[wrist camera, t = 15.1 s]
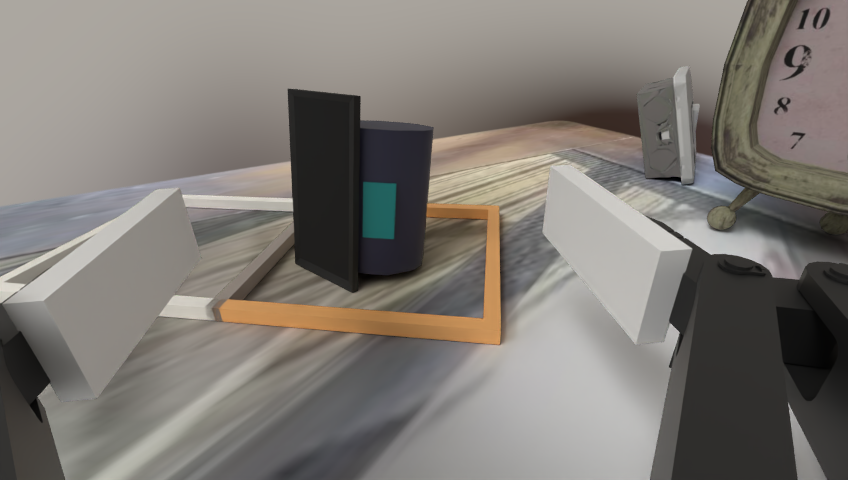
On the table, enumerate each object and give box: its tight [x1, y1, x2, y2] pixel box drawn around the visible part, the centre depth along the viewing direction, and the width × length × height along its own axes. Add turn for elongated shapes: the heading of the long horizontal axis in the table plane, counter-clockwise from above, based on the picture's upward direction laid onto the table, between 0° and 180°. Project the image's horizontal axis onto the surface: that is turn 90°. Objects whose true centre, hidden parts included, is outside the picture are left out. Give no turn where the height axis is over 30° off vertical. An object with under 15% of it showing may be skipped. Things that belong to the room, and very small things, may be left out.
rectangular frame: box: [0, 195, 501, 345], centre depth 27 cm, size 28×15×1 cm, turn 81°
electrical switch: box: [637, 66, 700, 185], centre depth 39 cm, size 9×5×9 cm, turn 149°
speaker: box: [288, 89, 433, 292], centre depth 24 cm, size 8×6×10 cm
